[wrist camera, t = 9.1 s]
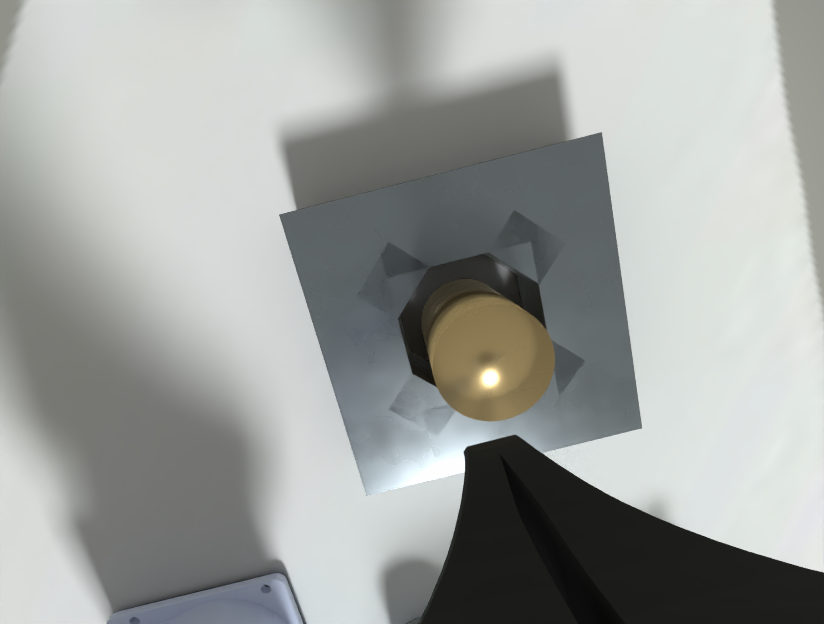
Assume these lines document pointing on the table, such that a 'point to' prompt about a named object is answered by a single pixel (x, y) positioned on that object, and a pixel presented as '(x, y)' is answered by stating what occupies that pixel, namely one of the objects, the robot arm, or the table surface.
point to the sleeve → (415, 621)
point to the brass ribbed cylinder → (485, 351)
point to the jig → (450, 241)
